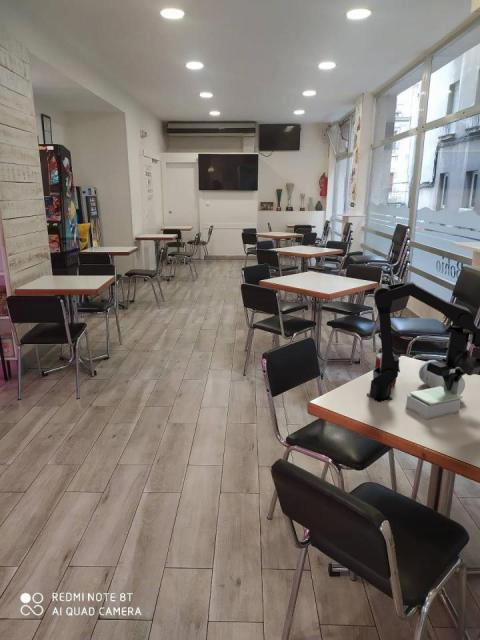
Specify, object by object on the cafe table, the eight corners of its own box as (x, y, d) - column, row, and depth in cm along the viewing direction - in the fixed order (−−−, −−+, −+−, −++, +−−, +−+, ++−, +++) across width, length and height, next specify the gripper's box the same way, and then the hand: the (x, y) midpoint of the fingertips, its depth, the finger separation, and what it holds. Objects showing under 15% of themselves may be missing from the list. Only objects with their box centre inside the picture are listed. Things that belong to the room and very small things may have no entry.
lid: (430, 405, 138) (432, 391, 137) (409, 394, 146) (411, 381, 145) (462, 398, 144) (464, 385, 143) (440, 387, 152) (442, 375, 150)
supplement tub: (445, 370, 168) (471, 387, 154) (426, 387, 168) (450, 405, 154) (432, 354, 165) (456, 369, 151) (412, 371, 165) (435, 387, 151)
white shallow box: (426, 419, 139) (428, 406, 138) (405, 407, 147) (407, 395, 146) (458, 412, 145) (460, 399, 144) (436, 400, 153) (438, 388, 151)
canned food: (392, 389, 161) (396, 361, 158) (370, 384, 165) (373, 357, 162) (397, 382, 167) (401, 355, 164) (376, 377, 171) (379, 351, 169)
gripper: (457, 357, 132) (449, 404, 136) (500, 350, 139) (491, 395, 144) (428, 345, 142) (422, 390, 146) (470, 339, 149) (462, 382, 153)
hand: (450, 389), depth 147 cm, fingers closed on lid
